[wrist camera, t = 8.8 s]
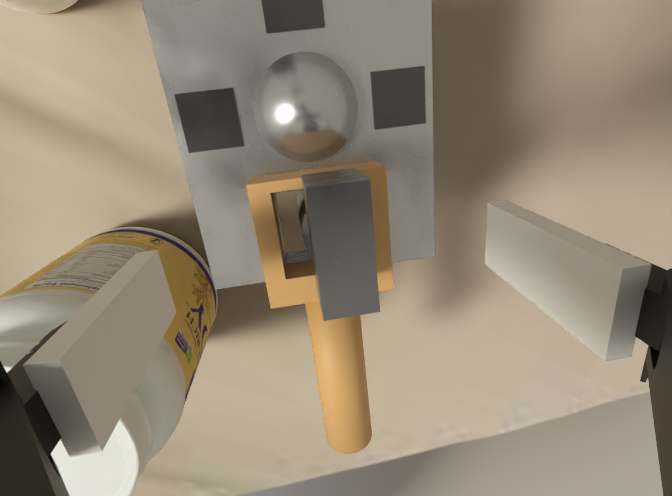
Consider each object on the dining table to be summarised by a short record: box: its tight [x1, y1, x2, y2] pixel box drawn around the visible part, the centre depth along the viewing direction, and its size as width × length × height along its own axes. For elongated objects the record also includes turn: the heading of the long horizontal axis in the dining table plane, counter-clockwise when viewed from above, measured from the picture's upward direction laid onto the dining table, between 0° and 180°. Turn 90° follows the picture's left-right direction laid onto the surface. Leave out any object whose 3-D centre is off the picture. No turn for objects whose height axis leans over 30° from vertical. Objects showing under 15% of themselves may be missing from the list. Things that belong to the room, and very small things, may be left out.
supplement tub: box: [0, 227, 218, 496], centre depth 24 cm, size 12×12×17 cm
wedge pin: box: [294, 168, 380, 321], centre depth 22 cm, size 6×3×16 cm, turn 6°
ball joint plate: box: [141, 0, 435, 289], centre depth 23 cm, size 15×12×12 cm
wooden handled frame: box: [246, 160, 393, 454], centre depth 23 cm, size 17×6×5 cm, turn 6°
